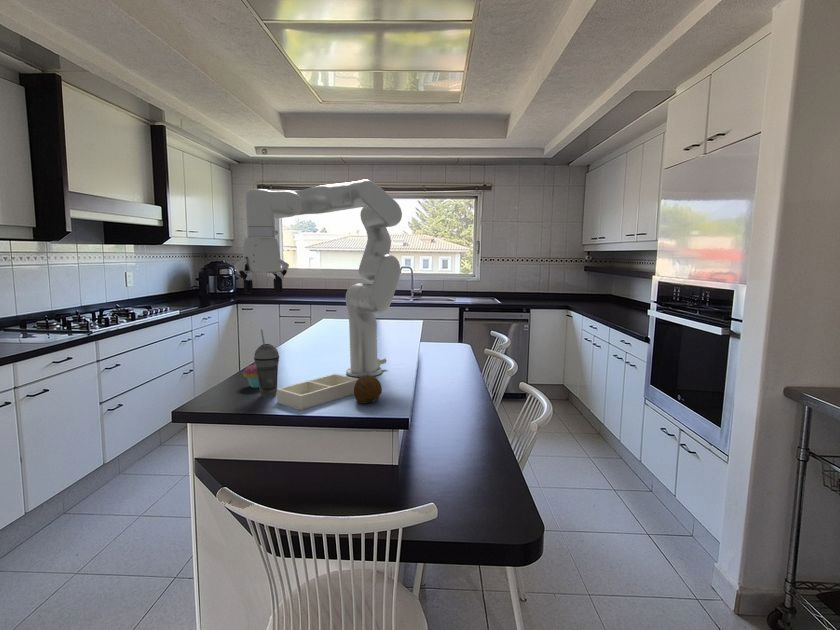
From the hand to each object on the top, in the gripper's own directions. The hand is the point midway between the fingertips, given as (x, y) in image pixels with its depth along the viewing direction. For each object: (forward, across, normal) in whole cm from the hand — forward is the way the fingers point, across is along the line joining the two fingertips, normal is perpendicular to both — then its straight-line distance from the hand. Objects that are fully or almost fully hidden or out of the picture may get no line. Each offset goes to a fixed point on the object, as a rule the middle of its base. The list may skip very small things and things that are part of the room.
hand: (263, 293), depth 138 cm
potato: (+31, -14, +29) cm, 44 cm away
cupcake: (+31, -4, -12) cm, 33 cm away
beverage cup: (+31, 0, 0) cm, 31 cm away
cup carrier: (+31, -8, +14) cm, 35 cm away
